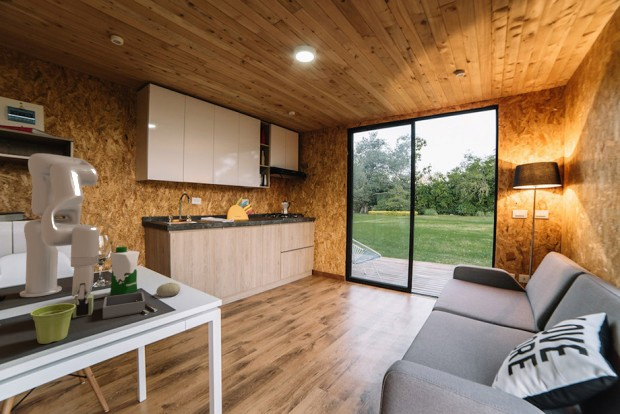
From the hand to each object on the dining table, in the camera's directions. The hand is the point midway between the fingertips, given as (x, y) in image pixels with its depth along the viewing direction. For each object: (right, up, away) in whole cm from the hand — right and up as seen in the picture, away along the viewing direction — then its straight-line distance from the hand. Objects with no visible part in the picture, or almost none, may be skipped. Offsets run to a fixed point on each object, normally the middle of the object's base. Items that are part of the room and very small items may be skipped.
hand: (83, 311), depth 94 cm
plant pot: (+6, -1, -18) cm, 19 cm away
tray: (+11, -1, +4) cm, 12 cm away
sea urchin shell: (+18, -2, +23) cm, 29 cm away
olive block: (0, -1, 0) cm, 1 cm away
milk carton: (-1, -1, +22) cm, 22 cm away
